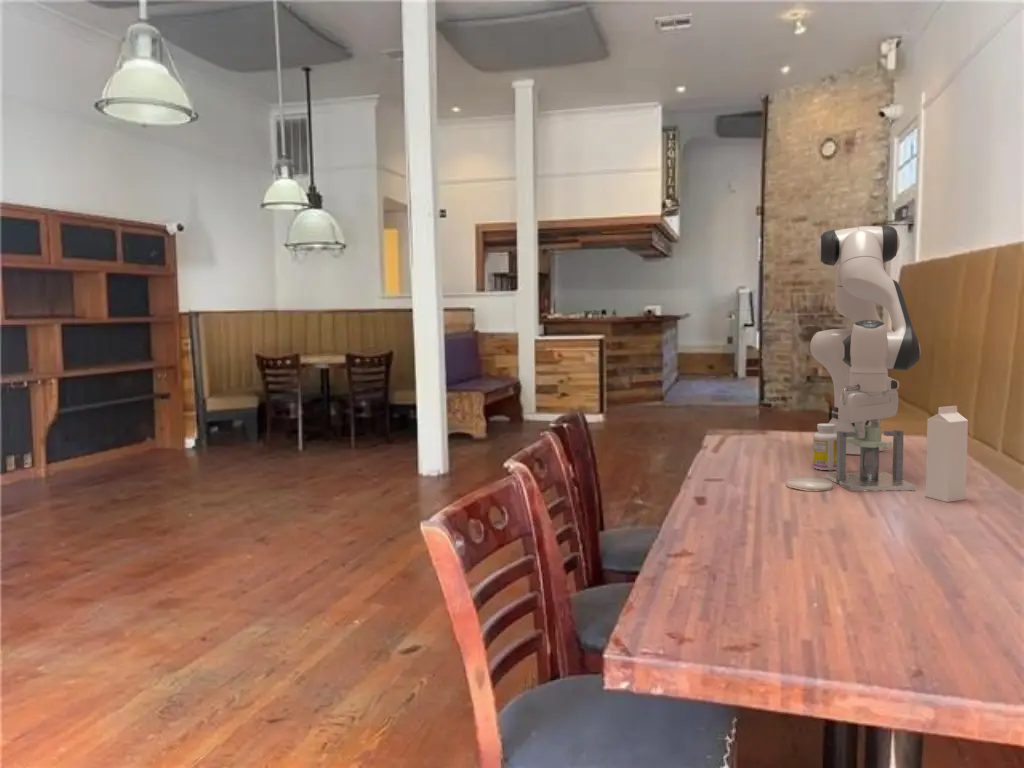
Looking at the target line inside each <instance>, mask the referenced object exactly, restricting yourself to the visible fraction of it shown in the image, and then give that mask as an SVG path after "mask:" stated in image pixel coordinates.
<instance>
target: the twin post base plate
mask: <svg viewBox="0 0 1024 768" xmlns="http://www.w3.org/2000/svg"><path fill="white" fill-rule="evenodd" d="M883 435H884V436H886V437H893V439H892V440H893V441H892V442H893V443H892V450H893V451H892V474H891V473H889V472H887V471H885V472H884V471H882V472H881V471H880V451H879V447H875V448H867V447H860V454H859V458H860V459H859V472H847V454H846V437H856V433H855V432H844V431H837V469H836V470H835V471H836V472H834V473H833V472H830V473H829V472H827V473H826V474H825V477H827V478H826V479H828V478H829V479H828V480H830V479H831V480H832V481H831V480H830V481H831V482H833V481H834V482H833V483H835V482H836V483H838V484H840V485H841V486H840V485H839V486H840V487H842V486H843V487H845V488H846V489H845V488H844V489H845V490H847V489H848V490H847V491H849V490H850V491H851V492H865V491H864V490H901V491H900V492H903V491H904V492H905V491H906V490H912V491H917V486H916V484H914V483H911V482H908V481H907V480H904V479H903V478H904V477H903V476H904V475H903V474H904V473H903V472H904V466H903V465H904V431H903V430H901V429H893V430H883ZM836 483H835V484H836ZM838 484H837V485H838ZM843 487H842V488H843ZM850 491H849V492H850Z"/></svg>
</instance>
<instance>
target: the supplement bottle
mask: <svg viewBox="0 0 1024 768" xmlns="http://www.w3.org/2000/svg"><path fill="white" fill-rule="evenodd" d="M816 426H817V432H815V433H814V434H813V468H814V469H815V468H816V469H815V470H817V469H820V470H819V471H821V470H829V471H828V472H834V471H833V470H835V471H836V469H837V434H836V433H835V432H834V430H835V425H834V424H828V423H818V424H816Z"/></svg>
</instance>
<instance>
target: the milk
mask: <svg viewBox="0 0 1024 768" xmlns="http://www.w3.org/2000/svg"><path fill="white" fill-rule="evenodd" d="M926 426H927V427H926V428H927V429H926V461H925V463H926V465H925V466H926V467H925V497H926V498H930V499H933V500H937V501H942V502H946V503H952V502H957V501H963V500H966V499H967V469H968V468H967V467H968V465H967V464H968V438H969V437H968V436H969V435H968V433H969V430H968V429H969V420H968V419H967V418H965V417H964V416H963V415H962V414H961V413H959V412H958V406H957V405H950V406H949V405H948V406H939V407H938V411H937V413H936V414H934V415H933V416H931V417H929V418H927V423H926Z"/></svg>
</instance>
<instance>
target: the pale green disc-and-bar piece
mask: <svg viewBox="0 0 1024 768" xmlns="http://www.w3.org/2000/svg"><path fill="white" fill-rule="evenodd" d="M864 428H865V431H867V438H858V431H857V429H856V427H855V433H856V437H854V438H846V443H851V444H855V446H858V447H867V448H875V447H883V449H891V448H892V442H890V441H882V426H879V427H877V426H867V425H864Z"/></svg>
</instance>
